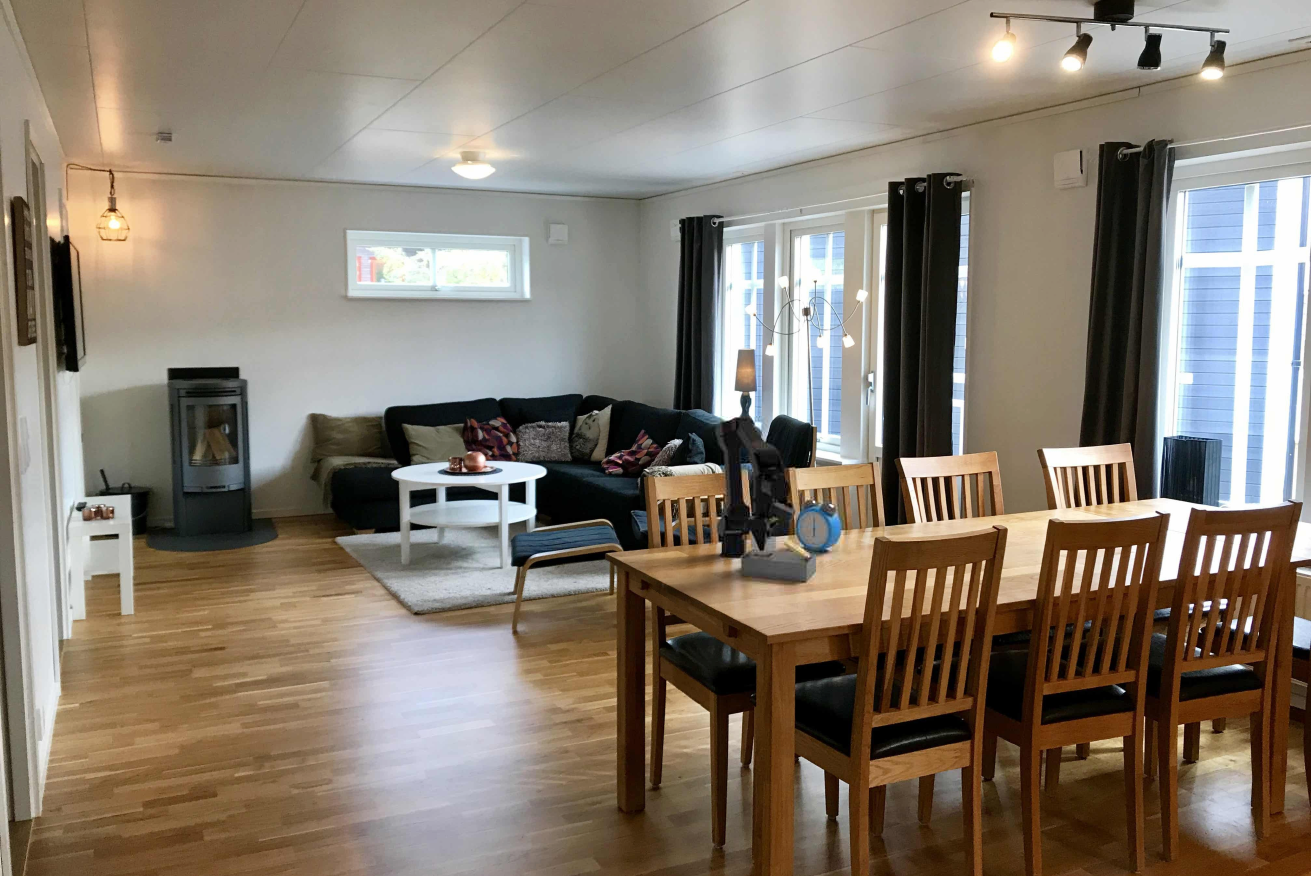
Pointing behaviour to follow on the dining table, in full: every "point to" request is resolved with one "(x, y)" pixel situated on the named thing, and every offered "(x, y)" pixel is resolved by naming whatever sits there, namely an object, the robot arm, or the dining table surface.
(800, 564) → the block
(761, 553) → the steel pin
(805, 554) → the brass latch
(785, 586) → the dining table surface
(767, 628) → the dining table surface
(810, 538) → the alarm clock
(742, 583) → the dining table surface
